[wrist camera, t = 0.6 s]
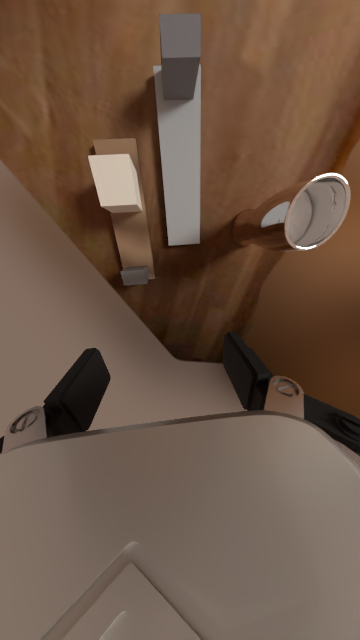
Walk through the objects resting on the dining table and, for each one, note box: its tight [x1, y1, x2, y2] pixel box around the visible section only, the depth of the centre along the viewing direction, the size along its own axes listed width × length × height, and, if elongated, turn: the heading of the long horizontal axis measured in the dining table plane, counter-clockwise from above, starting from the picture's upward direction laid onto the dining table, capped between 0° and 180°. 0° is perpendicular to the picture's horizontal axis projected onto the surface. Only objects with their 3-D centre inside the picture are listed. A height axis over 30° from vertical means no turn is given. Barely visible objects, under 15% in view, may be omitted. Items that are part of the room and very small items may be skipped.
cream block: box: [88, 154, 142, 213], centre depth 21 cm, size 5×5×5 cm
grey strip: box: [153, 14, 201, 246], centre depth 21 cm, size 20×6×6 cm, turn 3°
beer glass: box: [232, 173, 351, 251], centre depth 21 cm, size 7×7×15 cm
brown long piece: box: [93, 138, 155, 285], centre depth 24 cm, size 20×6×6 cm, turn 4°
